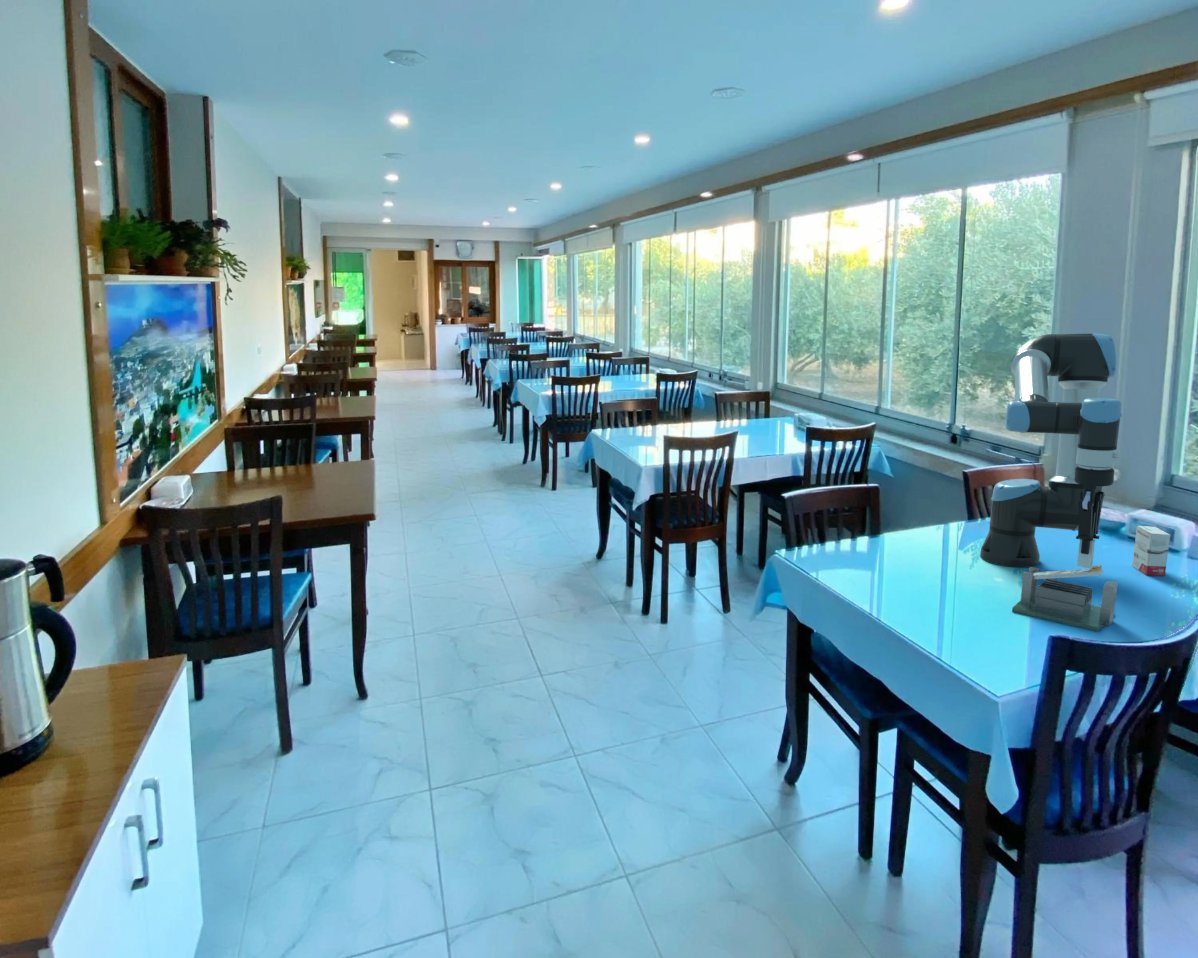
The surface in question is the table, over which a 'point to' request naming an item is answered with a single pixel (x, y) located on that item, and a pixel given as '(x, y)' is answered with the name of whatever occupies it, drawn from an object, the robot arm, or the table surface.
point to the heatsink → (1066, 602)
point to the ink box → (1151, 550)
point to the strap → (1069, 573)
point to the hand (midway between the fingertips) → (1084, 565)
